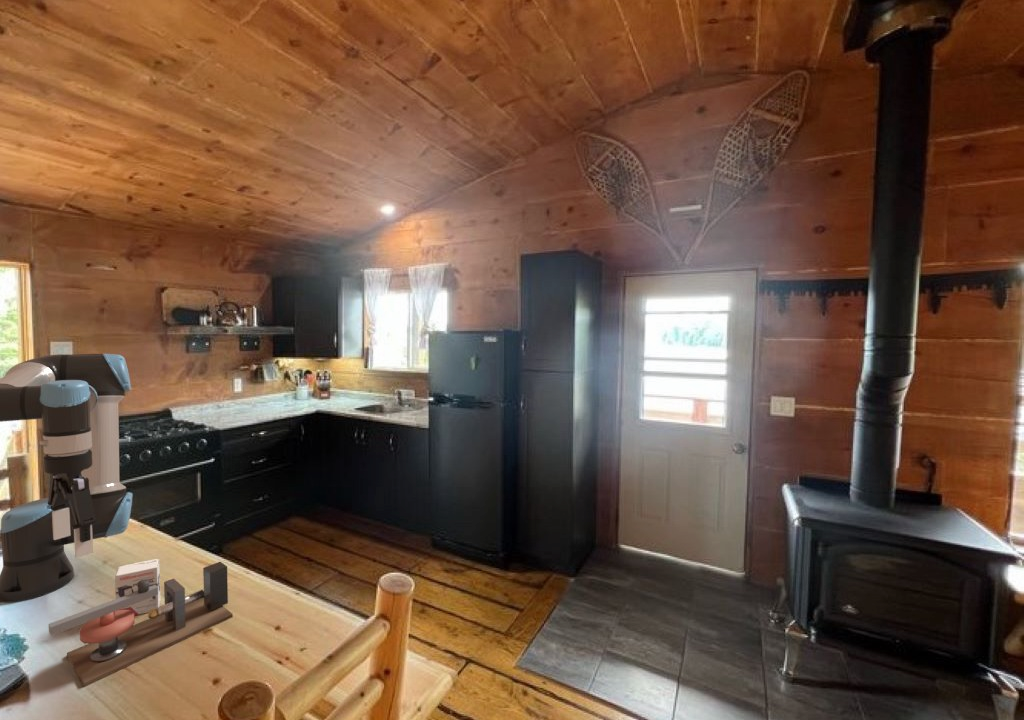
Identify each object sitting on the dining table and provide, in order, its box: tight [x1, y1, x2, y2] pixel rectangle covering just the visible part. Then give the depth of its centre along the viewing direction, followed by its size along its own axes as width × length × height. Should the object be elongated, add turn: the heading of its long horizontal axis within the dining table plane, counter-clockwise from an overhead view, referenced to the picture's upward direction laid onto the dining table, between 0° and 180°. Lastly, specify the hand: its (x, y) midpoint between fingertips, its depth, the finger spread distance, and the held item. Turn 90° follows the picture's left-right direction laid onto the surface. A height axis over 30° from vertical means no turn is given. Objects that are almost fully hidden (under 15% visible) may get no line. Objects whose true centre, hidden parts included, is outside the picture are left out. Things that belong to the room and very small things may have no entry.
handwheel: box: [48, 579, 158, 645], centre depth 100 cm, size 9×18×8 cm, turn 145°
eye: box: [163, 578, 186, 631], centre depth 111 cm, size 7×2×10 cm, turn 55°
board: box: [66, 598, 234, 687], centre depth 108 cm, size 14×28×1 cm, turn 145°
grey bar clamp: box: [147, 561, 229, 619], centre depth 113 cm, size 4×16×10 cm, turn 145°
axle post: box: [90, 637, 127, 663], centre depth 101 cm, size 6×6×5 cm
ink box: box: [114, 558, 161, 617], centre depth 116 cm, size 8×5×12 cm, turn 123°
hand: (72, 546), depth 100 cm, fingers open, 13 cm apart
